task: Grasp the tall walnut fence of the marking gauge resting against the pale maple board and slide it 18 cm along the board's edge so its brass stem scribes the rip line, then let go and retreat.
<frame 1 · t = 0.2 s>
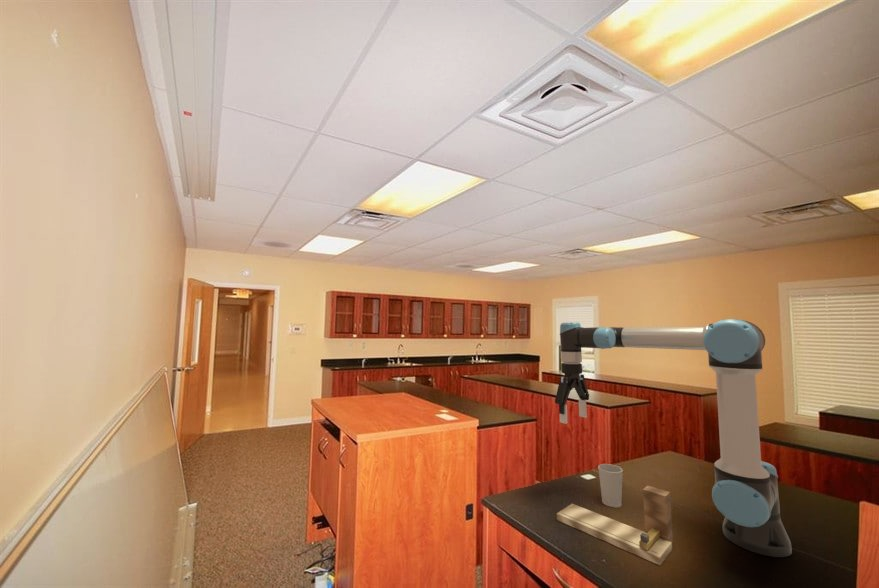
hand: (573, 420, 135), 28 cm above the counter, fingers open, 13 cm apart
gauge: (651, 521, 103), point 7 cm above the counter, slide at 0.0 cm
board: (610, 533, 109), on the counter
cup: (611, 503, 128), on the counter
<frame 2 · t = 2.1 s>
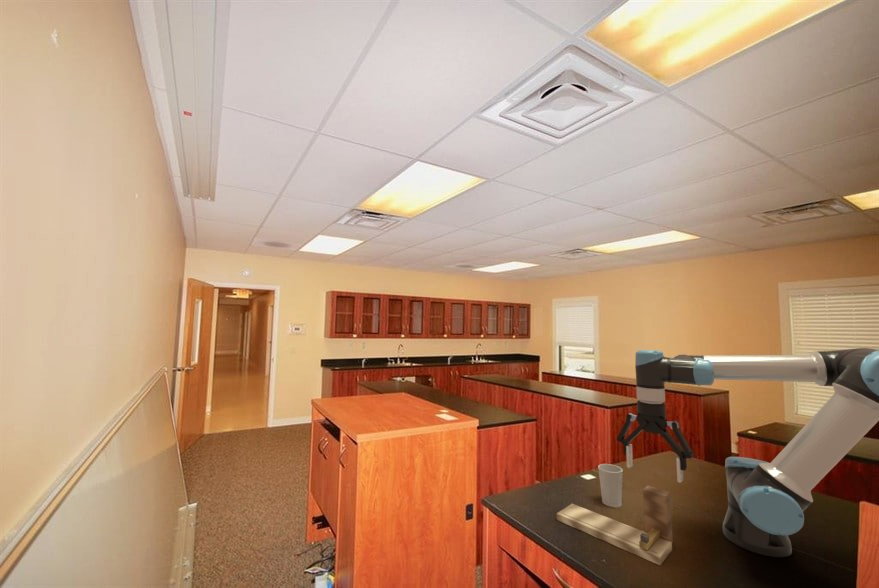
hand: (653, 473, 107), 19 cm above the counter, fingers open, 13 cm apart
nothing on the counter moved.
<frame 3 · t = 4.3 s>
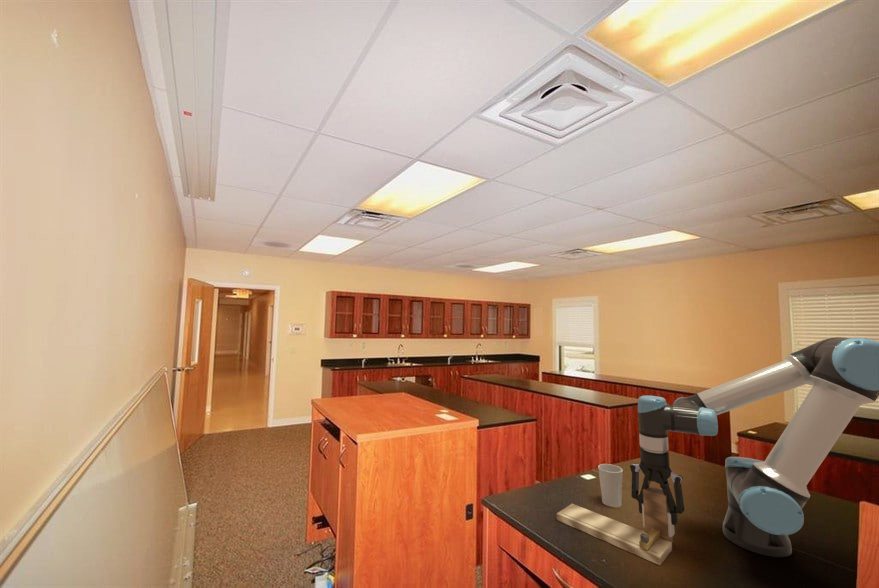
hand: (658, 530, 106), 3 cm above the counter, fingers closed on gauge, 6 cm apart
gauge: (651, 521, 103), point 7 cm above the counter, slide at 0.0 cm, touching gripper
everything else where it was.
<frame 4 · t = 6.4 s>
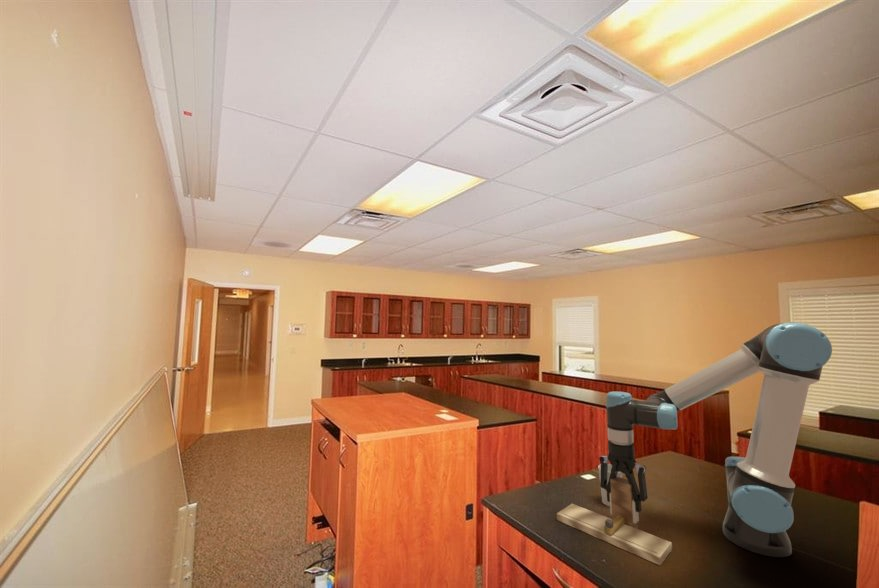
hand: (624, 517, 113), 3 cm above the counter, fingers closed on gauge, 6 cm apart
gauge: (617, 508, 110), point 7 cm above the counter, slide at 9.6 cm, touching gripper
everything else where it was.
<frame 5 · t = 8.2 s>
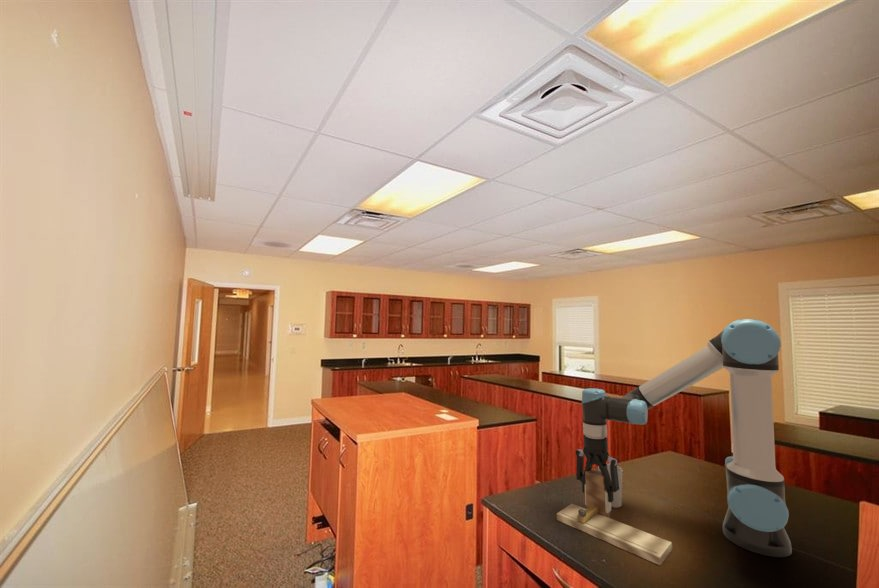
hand: (598, 507, 119), 3 cm above the counter, fingers closed on gauge, 6 cm apart
gauge: (590, 499, 116), point 7 cm above the counter, slide at 18.0 cm, touching gripper
everything else where it was.
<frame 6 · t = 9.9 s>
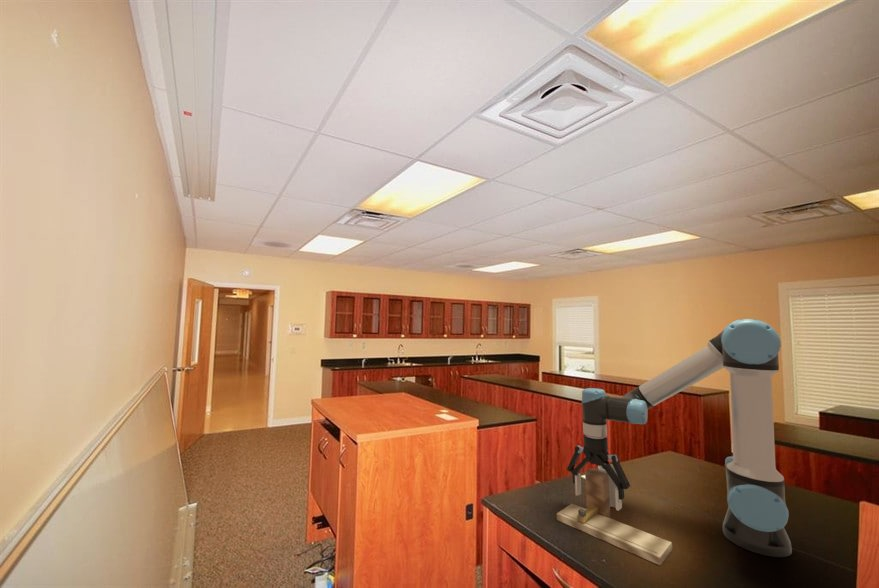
hand: (597, 501, 119), 5 cm above the counter, fingers open, 13 cm apart
gauge: (590, 499, 116), point 7 cm above the counter, slide at 18.0 cm
everything else where it was.
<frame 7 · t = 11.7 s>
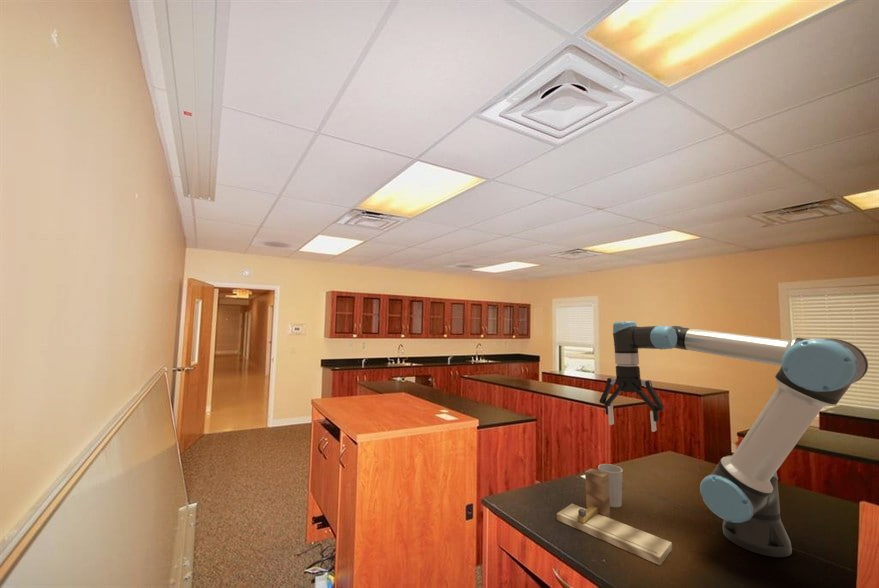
hand: (632, 427, 124), 28 cm above the counter, fingers open, 13 cm apart
nothing on the counter moved.
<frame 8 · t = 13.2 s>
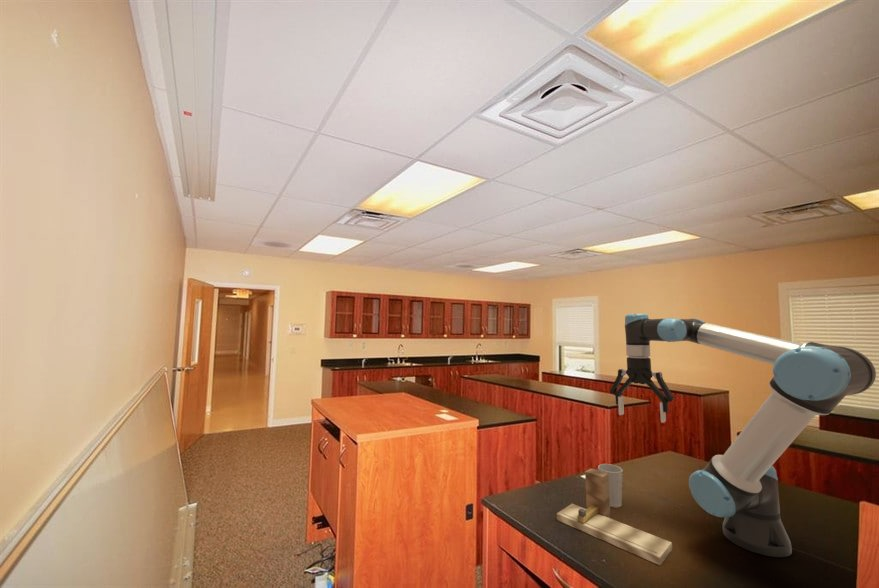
hand: (641, 418, 126), 31 cm above the counter, fingers open, 13 cm apart
nothing on the counter moved.
at the end: gauge slide at 18.0 cm; the gripper is holding nothing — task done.
